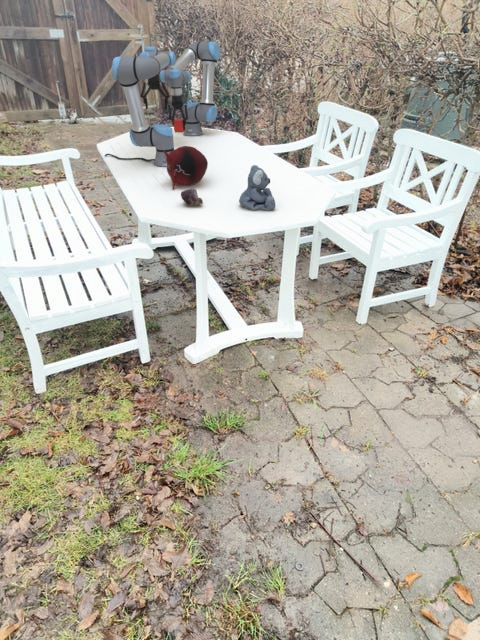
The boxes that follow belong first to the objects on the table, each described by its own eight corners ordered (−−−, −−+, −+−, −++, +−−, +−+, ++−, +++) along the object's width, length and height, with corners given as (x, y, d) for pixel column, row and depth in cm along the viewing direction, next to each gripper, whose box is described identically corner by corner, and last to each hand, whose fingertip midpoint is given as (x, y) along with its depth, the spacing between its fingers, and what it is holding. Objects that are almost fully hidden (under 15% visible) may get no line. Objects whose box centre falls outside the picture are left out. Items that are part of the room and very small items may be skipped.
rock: (196, 202, 238) (178, 205, 233) (194, 185, 234) (176, 188, 230) (205, 205, 228) (187, 208, 224) (203, 188, 224) (185, 191, 220)
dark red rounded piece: (165, 151, 264) (159, 150, 240) (204, 143, 263) (202, 140, 240) (174, 188, 271) (169, 190, 247) (212, 180, 270) (211, 181, 247)
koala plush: (276, 211, 223) (277, 171, 212) (240, 212, 222) (240, 172, 211) (271, 199, 237) (272, 161, 226) (237, 200, 236) (237, 162, 225)
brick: (183, 132, 323) (182, 120, 319) (174, 132, 324) (173, 120, 319) (185, 130, 329) (184, 118, 324) (176, 130, 329) (175, 118, 325)
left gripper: (172, 73, 298) (175, 108, 310) (136, 73, 301) (140, 107, 313) (169, 74, 292) (172, 110, 304) (132, 74, 295) (137, 109, 307)
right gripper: (191, 94, 315) (193, 128, 328) (164, 93, 316) (167, 128, 330) (189, 95, 309) (191, 131, 322) (162, 95, 310) (165, 131, 324)
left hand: (156, 109), depth 309 cm, fingers open, 13 cm apart
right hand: (179, 129), depth 326 cm, fingers closed on brick, 6 cm apart
